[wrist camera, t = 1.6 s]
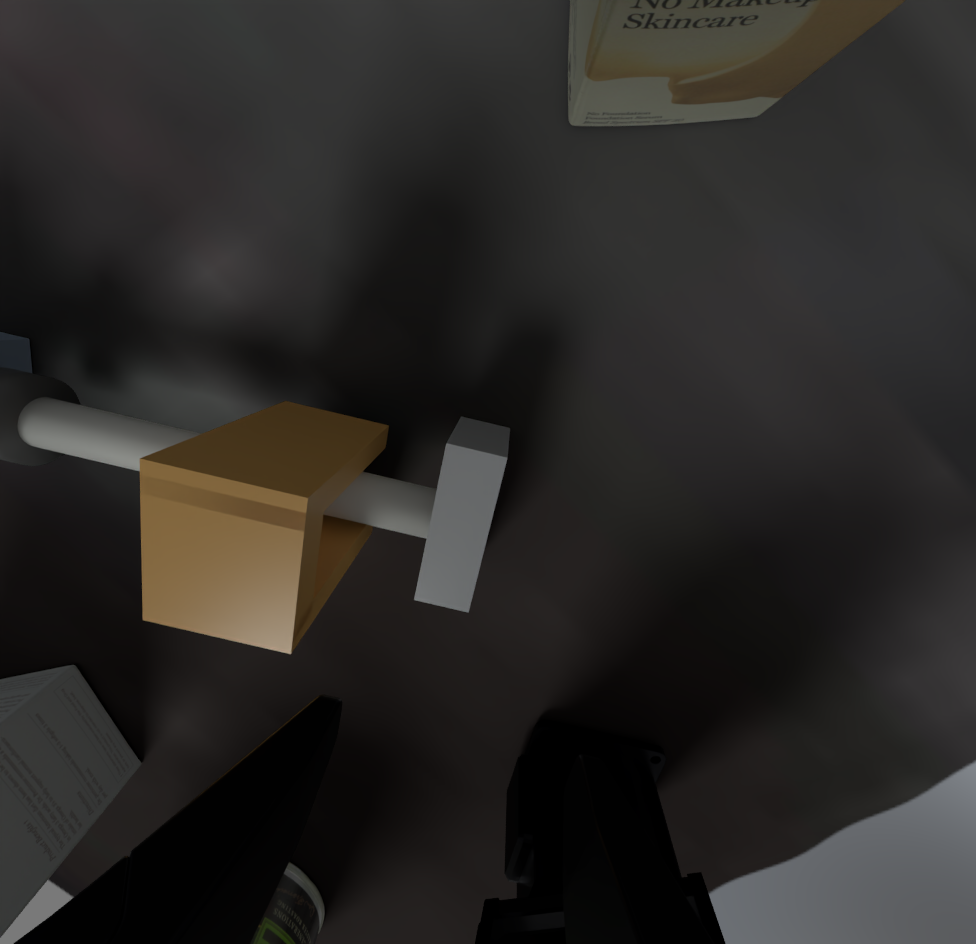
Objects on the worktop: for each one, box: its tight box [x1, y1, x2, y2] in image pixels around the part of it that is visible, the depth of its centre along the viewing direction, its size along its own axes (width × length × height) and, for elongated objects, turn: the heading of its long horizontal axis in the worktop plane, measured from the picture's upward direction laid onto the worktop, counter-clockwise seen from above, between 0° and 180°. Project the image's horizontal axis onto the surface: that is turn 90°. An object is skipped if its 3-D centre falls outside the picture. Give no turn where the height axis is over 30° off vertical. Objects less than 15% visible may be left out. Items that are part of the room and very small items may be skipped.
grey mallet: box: [0, 332, 510, 612], centre depth 17 cm, size 22×6×6 cm, turn 77°
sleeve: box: [140, 401, 389, 654], centre depth 15 cm, size 4×5×7 cm
